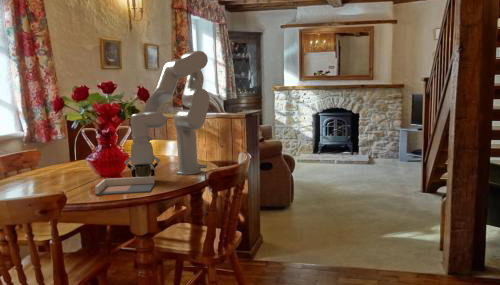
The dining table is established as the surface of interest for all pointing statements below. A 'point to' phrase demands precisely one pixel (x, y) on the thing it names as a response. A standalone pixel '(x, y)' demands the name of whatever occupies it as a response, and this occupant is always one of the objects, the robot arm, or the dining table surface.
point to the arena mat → (127, 189)
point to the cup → (143, 170)
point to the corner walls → (123, 182)
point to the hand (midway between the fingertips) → (143, 177)
